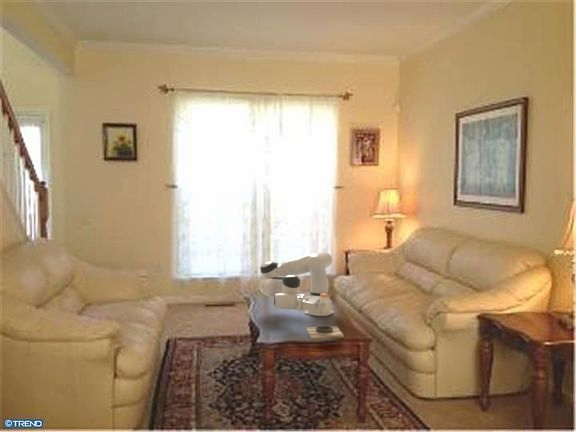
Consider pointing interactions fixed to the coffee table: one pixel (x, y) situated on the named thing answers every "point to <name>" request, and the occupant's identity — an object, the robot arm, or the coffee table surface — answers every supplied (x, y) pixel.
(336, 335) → the board
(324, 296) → the bottle
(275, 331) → the coffee table surface
